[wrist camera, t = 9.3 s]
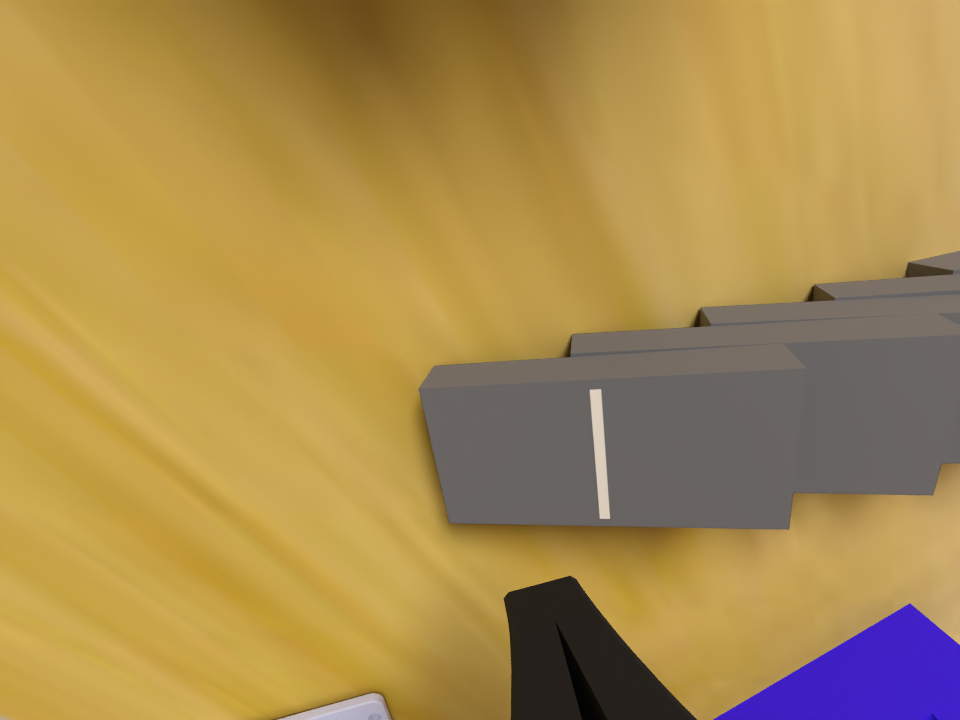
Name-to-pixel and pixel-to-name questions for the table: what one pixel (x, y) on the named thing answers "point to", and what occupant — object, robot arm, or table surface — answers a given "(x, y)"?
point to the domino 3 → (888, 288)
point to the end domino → (935, 266)
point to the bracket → (870, 678)
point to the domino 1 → (620, 438)
